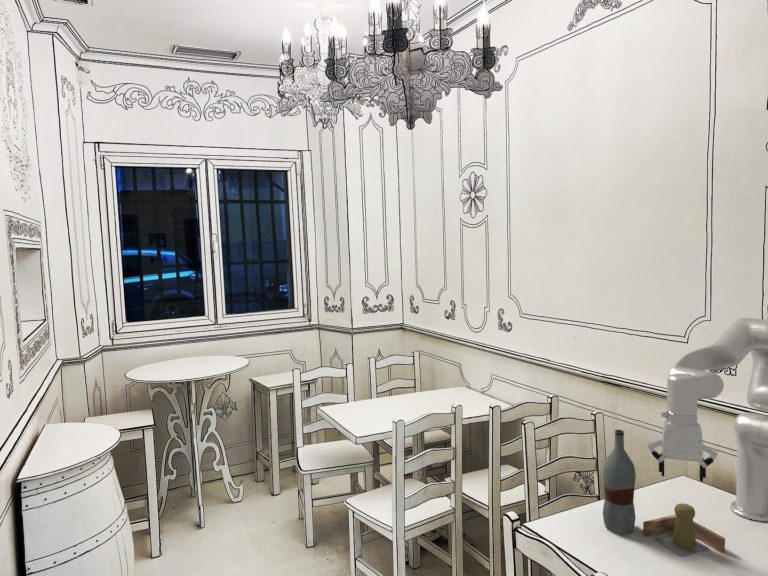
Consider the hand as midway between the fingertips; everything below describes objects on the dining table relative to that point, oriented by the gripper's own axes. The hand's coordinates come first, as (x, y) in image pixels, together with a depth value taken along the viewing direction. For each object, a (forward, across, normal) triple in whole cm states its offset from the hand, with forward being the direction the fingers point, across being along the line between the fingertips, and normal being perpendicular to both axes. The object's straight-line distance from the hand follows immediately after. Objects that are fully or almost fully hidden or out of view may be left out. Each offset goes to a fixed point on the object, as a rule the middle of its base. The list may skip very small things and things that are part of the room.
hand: (681, 477), depth 159 cm
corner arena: (+20, 0, 0) cm, 20 cm away
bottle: (+20, -17, +2) cm, 26 cm away
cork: (+19, +1, 0) cm, 19 cm away
